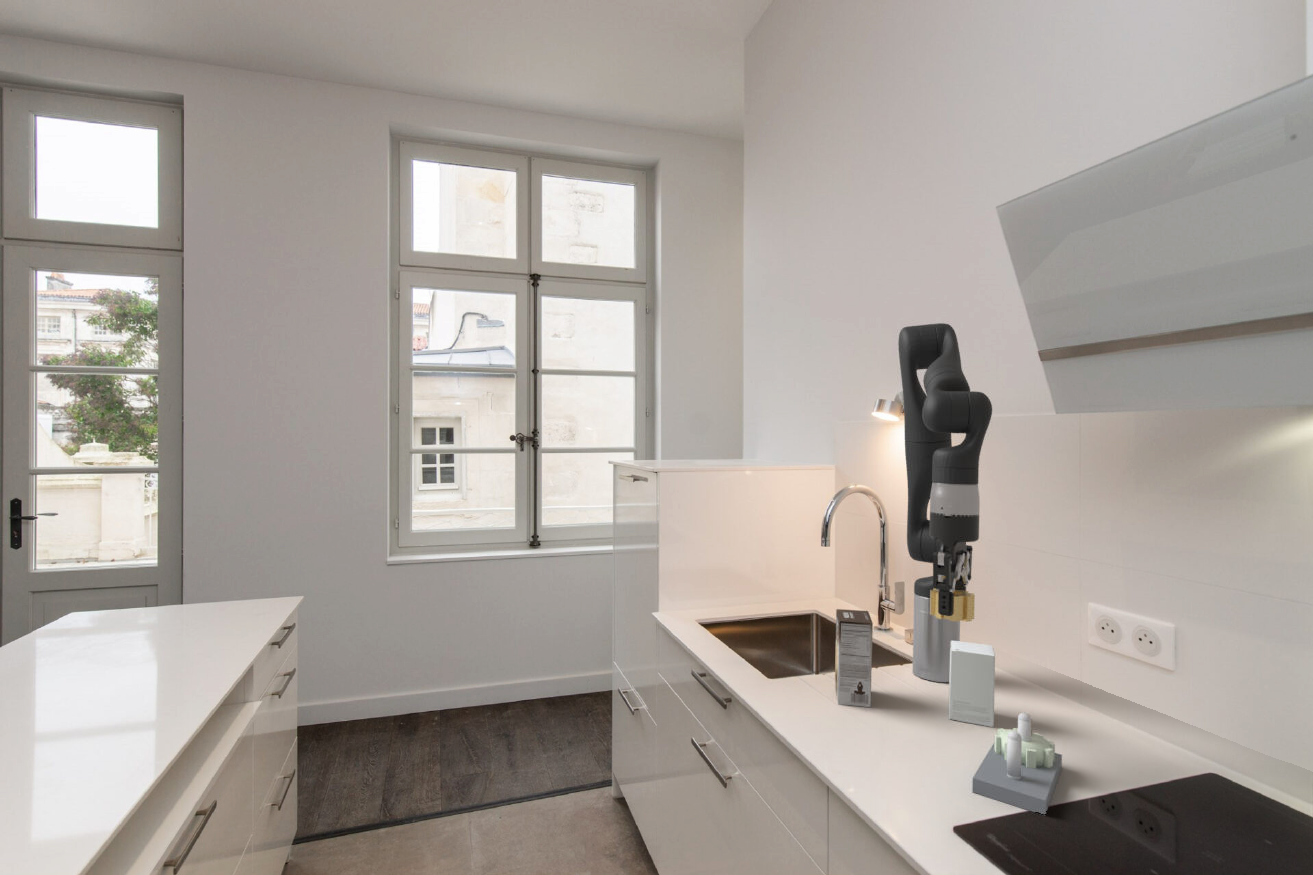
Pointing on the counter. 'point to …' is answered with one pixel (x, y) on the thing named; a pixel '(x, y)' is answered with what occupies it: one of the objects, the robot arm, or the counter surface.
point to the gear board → (1019, 768)
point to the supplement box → (972, 683)
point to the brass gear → (955, 606)
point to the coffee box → (853, 657)
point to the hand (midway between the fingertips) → (952, 610)
